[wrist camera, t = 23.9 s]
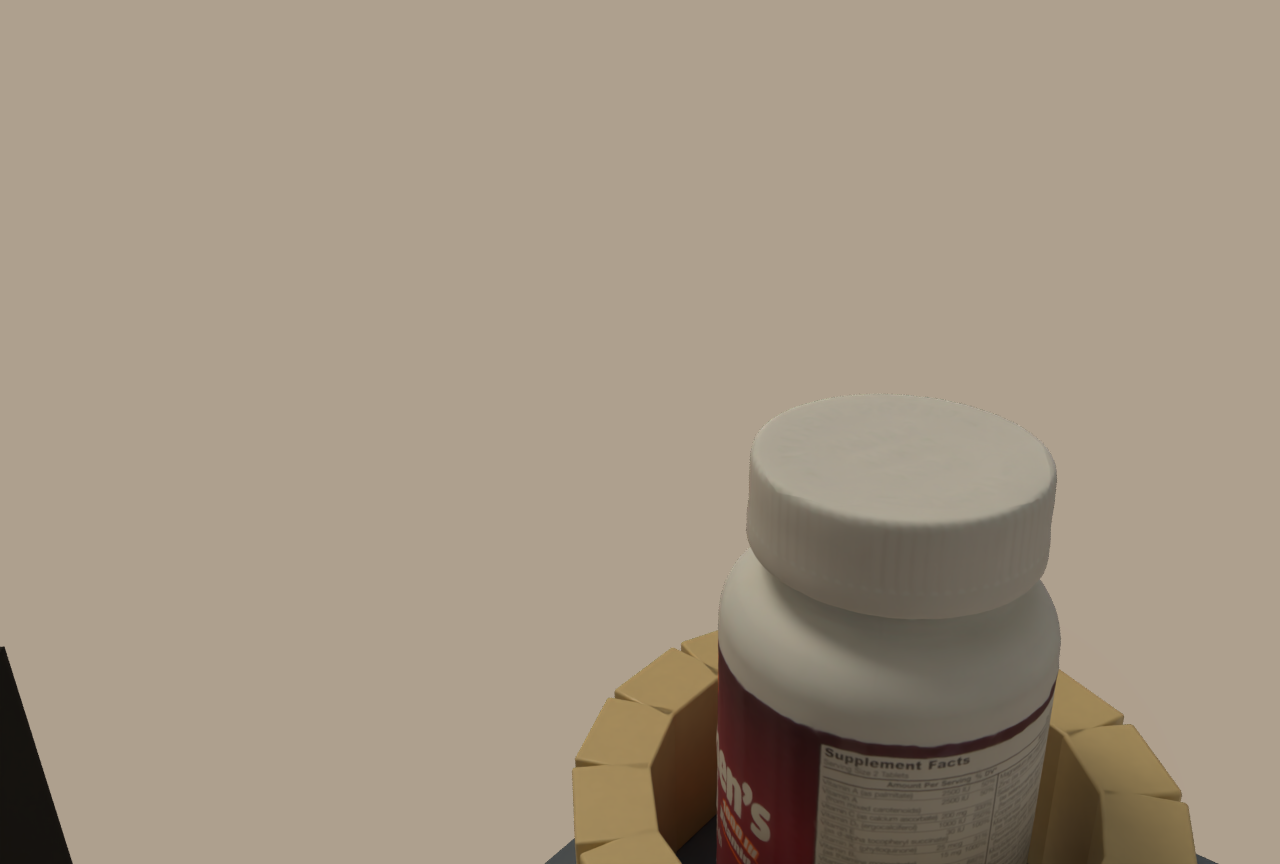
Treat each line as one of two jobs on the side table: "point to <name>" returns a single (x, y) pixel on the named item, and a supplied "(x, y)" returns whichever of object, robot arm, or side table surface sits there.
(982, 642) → the pill bottle
